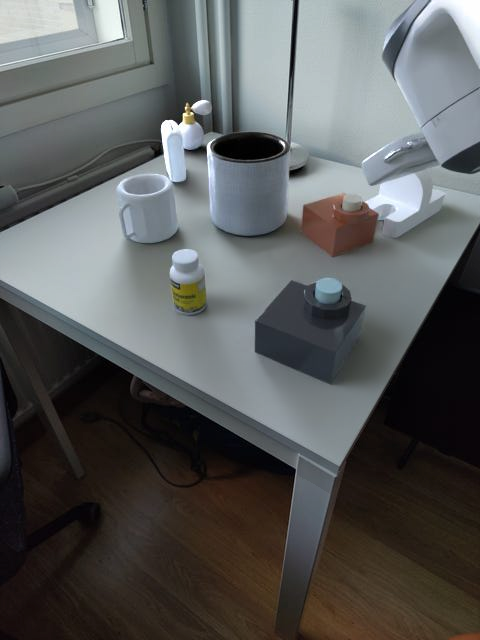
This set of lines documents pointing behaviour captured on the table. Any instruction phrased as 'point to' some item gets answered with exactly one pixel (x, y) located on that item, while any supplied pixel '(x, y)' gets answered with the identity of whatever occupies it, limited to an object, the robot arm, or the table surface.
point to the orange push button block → (338, 225)
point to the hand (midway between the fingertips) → (392, 174)
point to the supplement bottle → (188, 282)
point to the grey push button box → (309, 330)
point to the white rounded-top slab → (173, 151)
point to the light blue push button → (328, 290)
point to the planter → (248, 182)
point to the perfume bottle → (193, 125)
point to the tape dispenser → (406, 202)
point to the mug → (147, 208)
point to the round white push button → (352, 202)
